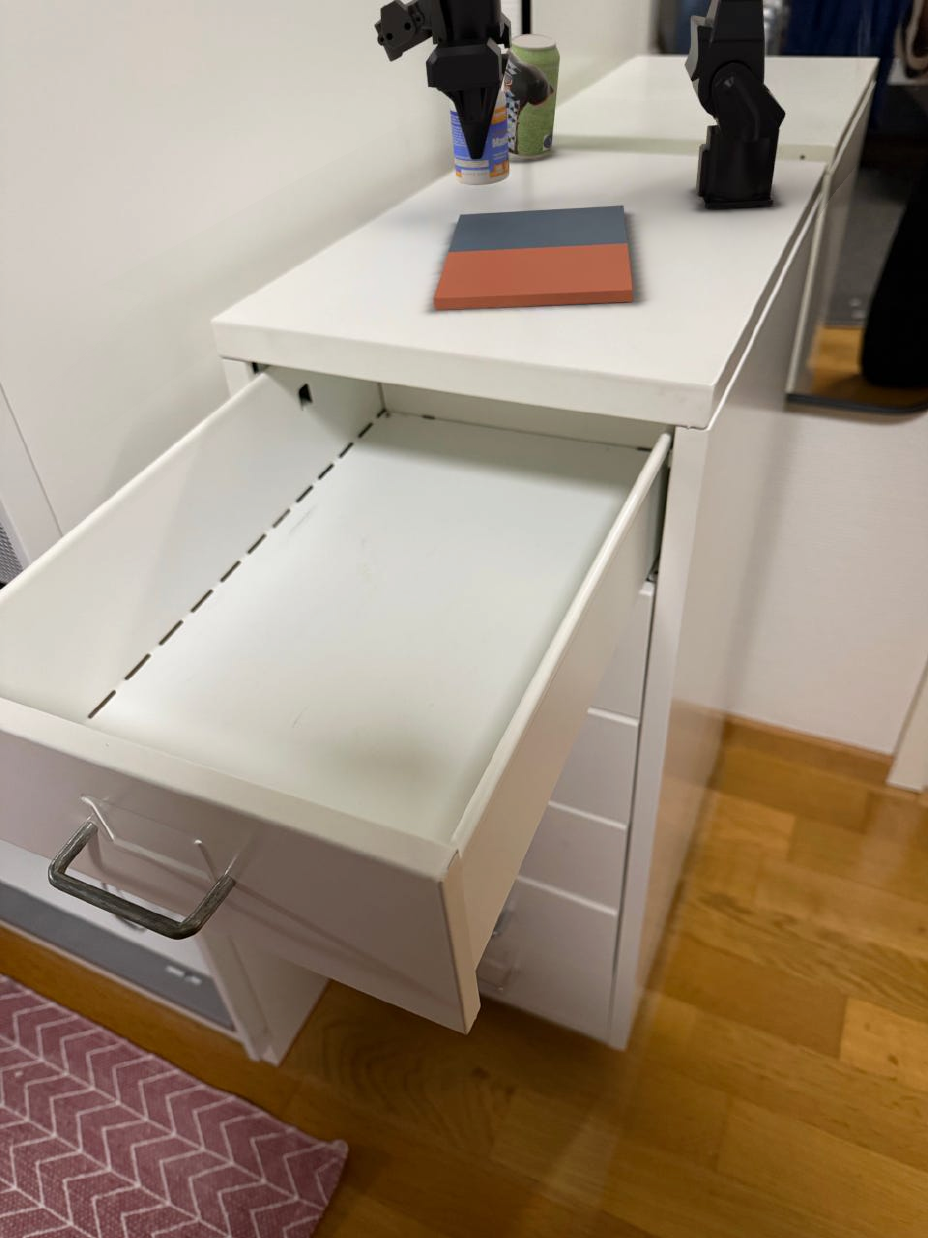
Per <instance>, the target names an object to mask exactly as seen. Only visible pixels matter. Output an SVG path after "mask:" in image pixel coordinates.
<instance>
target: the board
mask: <svg viewBox="0 0 928 1238" xmlns="http://www.w3.org/2000/svg"><path fill="white" fill-rule="evenodd" d="M625 215H626V214H625V207H624V205H605V206H588V207H587V206H586V207H584V206H583V207H571V208H570V207H568V208H551V209H549V208H548V209H533V210H531V209H530V210H514V211H497V212H479V213H463V214H459V216H458V219H457V223H456V225H455V229H454V231H453V236H452V238H451V241H450V245H449V248H448V250H447V254H446V257H445V260H444V264H443V266H442V270H441V274H440V276H439V280H438V283H437V287H436V289H435V292H434V295H433V309H434V310H435V311H439V310H440V311H441V310H444V311H445V310H446V311H447V310H465V309H466V310H467V309H468V310H469V309H491V308H513V307H537V306H539V307H540V306H560V305H562V306H563V305H564V306H565V305H585V304H586V305H587V304H589V305H590V304H608V303H611V304H612V303H632V302H633V296H634V288H633V277H632V269H631V261H630V252H629V243H628V242H629V241H628V233H627V226H626V225H627V224H626V216H625Z"/></svg>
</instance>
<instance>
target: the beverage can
mask: <svg viewBox="0 0 928 1238" xmlns="http://www.w3.org/2000/svg"><path fill="white" fill-rule="evenodd" d="M557 47H558V46H557V40H556V39H555V38H553V37H551V36H548V35H544V34H538V33H537V34H535V33H525V34H517V35H515V36H513V37H512V44H511V48H507V49H506V51H505V53H507V54H509V60H508V63H507V67H506V71H505V75H504V79H503V92H504V94H505V97H506V111H507V130H508V148H509V156H511V157H513V158H517V159H521V160H522V159H523V160H534V159H538V158H541V157H543V156H544V155H545V154H546V153H549V151H550V150H551V149H552V147H553V146H552V145H553V135H554V125H555V114H556V103H557V94H558V83H559V73H560V61H561V55H560V51H559V49H558V48H557Z"/></svg>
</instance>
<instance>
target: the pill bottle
mask: <svg viewBox="0 0 928 1238" xmlns="http://www.w3.org/2000/svg"><path fill="white" fill-rule="evenodd" d="M449 114H450V124H451V136H452V145H453V157H454V169H455V177H456V180H457V182H459V183H460V184H462V185H468V186H488V185H493V184H496V183H499V182H502V181H504V180H506V179H507V178H509V176H510V155H509V148H508V130H507V111H506V97H505V94H504V90H502V89H501V90H499V94H498V98H497V102H496V106H495V109H494V113H493V117H492V121H491V125H490V129H489V133H488V137H487V141H486V144H485V148H484V152H483V156H482V158H481V159H474V160H473V159H471V158H470V155H469V152H468V148H467V145H466V141H465V138H464V135H463V131H462V128H461V124H460V121H459V118H458V114H457V111H456V108H455V105H454V103H453V101H452V100H451V99H450V98H449Z"/></svg>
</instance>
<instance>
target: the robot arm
mask: <svg viewBox="0 0 928 1238" xmlns="http://www.w3.org/2000/svg"><path fill="white" fill-rule="evenodd" d="M379 11H380V13H379V14H380V16H379V17H380V19H378V20H377V22H375V23H374V25H373V27H374V28H375V31H376V33H377V38H376V41H377V44H378V45H379V46H381V47H383V50H384V52H385V54H386V57H387V58H388V60H389V62H391V63H392V62H394V61H396V60H399V59H400V58H401V57H403V55H404V53H406V52H408V51H409V50H411V49H414V48H415V47H417V46H419V45H420V44H422V43H424V42H426V41H428V40H429V39H431V38H432V45H433V46H434V45H436V46H435V47H434V49H433V50H432V52H431V53H430V55H429V56H428V58H427V59H426V61H425V69H426V70H425V71H426V79H427V80H426V81H427V88H432V89H435V90H437V91H438V92H441V93H442V94H443V95H444V96H446V97H447V98H448V99H449V100H450V99H451V100H452V101H453V103H454V105H455V108H456V111H457V114H458V118H459V121H460V124H461V128H462V131H463V135H464V138H465V141H466V145H467V148H468V152H469V155H470V158H471V159H473V160H474V159H481V158H482V156H483V152H484V148H485V144H486V141H487V137H488V133H489V129H490V125H491V121H492V117H493V113H494V109H495V106H496V102H497V98H498V94H499V90H502V86H503V83H504V75H505V71H506V67H507V63H508V60H509V54H507V53H506V52H505V53H502V48H501V47H500V45H503V49H506V50H507V49H508V48H511V44H512V38H513V37H512V35H513V34H512V21H511V20H510V19H509V18H508V16H506V15H505V13H504V12H503V11H502V0H410V1H409V2H406V3H404V2H403V1H402V0H392V1H391V2H388V3H387V4H384V5H382V6H381V8H380V9H379ZM764 12H765V11H764V0H711V2H710V5H709V8H708V11H707V14H706V16H705V17H704V16H699V15H694V14H693V15H691V17H690V39H691V40H690V49H689V51H688V52H689V53H688V56H687V58H686V60H685V62H684V68H685V70H686V72H687V75H688V77H689V79H690V82H691V85H692V87H693V90H694V92H695V95H696V97H697V100H698V102H699V104H700V106H701V107H702V109H703V110H704V111H705V112H706V114H708V115H710V116H711V117H712V118H713V120H714V121H715V123H716V124H711V125H707V126H706V134H705V135H706V137H705V143H701V144H700V145H699V147H698V158H697V159H698V160H697V170H696V180H695V181H696V182H695V190H696V193H697V196H698V198H701V201H702V205H703V207H704V208H706V209H719V208H720V209H721V208H736V207H737V208H739V207H757V206H759V207H760V206H772V205H774V203H775V196H774V195H773V193H772V188H773V181H774V174H775V165H776V159H777V153H778V145H779V138H780V130H781V129H780V128H781V126H782V125H783V122H784V119H785V117H786V111H785V109H784V108H783V107H782V105H781V104H780V102H779V101H778V100H777V98H776V97H775V95H774V94H773V93H772V91H771V90H770V89H769V88H768V87H767V85H766V84H765V73H766V72H765V67H766V66H765V65H766V63H765V62H766V61H765V60H766V33H765V31H766V30H765V14H764Z"/></svg>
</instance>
